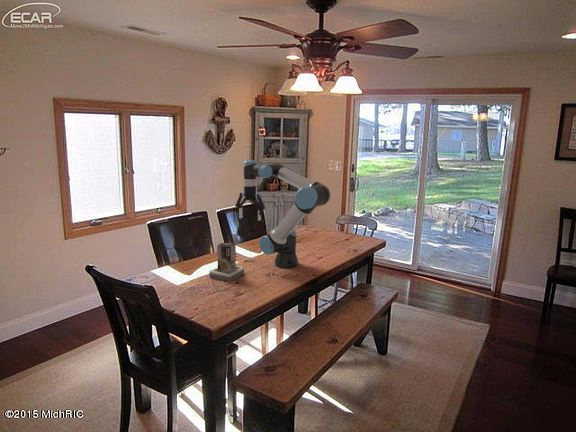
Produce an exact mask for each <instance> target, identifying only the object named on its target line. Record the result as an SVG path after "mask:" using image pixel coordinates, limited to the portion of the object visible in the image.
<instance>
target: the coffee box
mask: <svg viewBox="0 0 576 432" xmlns="http://www.w3.org/2000/svg"><path fill="white" fill-rule="evenodd" d="M216 249H217V251H216V252H217V253H216V254H217V267H218V272H224V273H232V272H234V271H236V266H237V261H236V260H237V254H236V252H237V251H236V244H235V243H227V242H221V243H218V245H217V246H216Z"/></svg>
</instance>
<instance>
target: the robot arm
mask: <svg viewBox="0 0 576 432" xmlns="http://www.w3.org/2000/svg"><path fill="white" fill-rule="evenodd" d="M256 161H257V160H251V159H250V160H249V159H248V160H244V162H243V185H244V186H243V192H239V196H238V199H237V201H236V203H235V207H236V208H237V210H238V211H237V213H238V217H239V219H243V217H244V216H243V206H244V204H245V203H246V202H247V201H249V202H253V203H254V204H255V206H256V208H257V209H258V210H257V222H258V221H261V220H262V215H263V210H265V209H266V207H265V204H264V202H263V200H262V195H261V193H257V186H256V185H257V178H261V179H262V178H263V179H269V178H270V177H275V178H277V179H280V180H281V181H284V182H285V183H287V184H289V185H291V186H293V187H294V188H297V189H298V190H297V191H296V193H295V196H294V197H295V198H294V201H293V202H294V205H293V206H292V207H291V208H290V209H289V211H288V212H287V213H286V214H285V216H283V218H282V219H281V221H280V222H279V223H278V224H277V226H276V227H275V228H272V229H270V230H269V232H268V233H267V234H266V235H262V236H261V237H260V238H259V241H258V243H259V247H260V251H262V253H263V254H265V255H274V254H276V256H275V258H274V266H275V267H277V268H281V269H291V268H293V269H294V268H297V267H298V266H299V259H298V255H297V232H296V230H295V228H296V227H297V226H298V225H299V223H301V221H302V220H303V219H304V217H306V215H310V214H311V213H313V212H314V210H315V209H316V208H317V207H322V206H326V205H327V203H329V201H330V199H331V191H330V189H329V187H328V186H326V185H325V184H323V183H321V182H319V181H313V180H311V179H309V178H307V177H306V176H305V177H304V176H303V175H301V174H298V173H297V172H296V171H295V172H294V171H292V170H290V169H288V168H287V167H286V166H285V165H284V164H283V163H272V164H270V163H269V164H258V163H257V162H256Z"/></svg>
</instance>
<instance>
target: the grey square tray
mask: <svg viewBox="0 0 576 432" xmlns="http://www.w3.org/2000/svg"><path fill="white" fill-rule="evenodd" d="M244 274H245V267H243V266H239V265H236V271H234V272H232V273H224V272H218V266H217V267H215V268H213V269H211V270H209V278H212V279H215V280H216V279H218V280H220V281H221V280H222V281H227V282H231V281H233V280H235V279H237V278H239V277H240V276H242V275H244Z"/></svg>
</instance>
